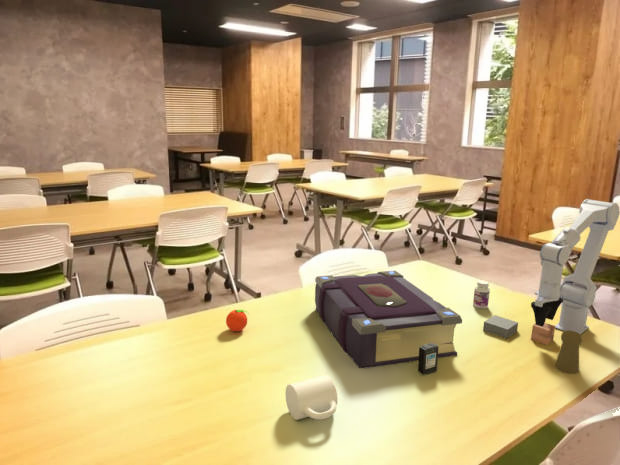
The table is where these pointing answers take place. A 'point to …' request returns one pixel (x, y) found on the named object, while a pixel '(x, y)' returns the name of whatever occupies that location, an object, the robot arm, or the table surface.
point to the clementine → (236, 320)
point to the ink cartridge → (428, 358)
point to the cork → (569, 352)
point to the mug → (312, 398)
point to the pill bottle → (481, 295)
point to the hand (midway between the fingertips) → (544, 322)
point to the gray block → (500, 326)
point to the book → (383, 318)
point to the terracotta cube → (543, 333)
